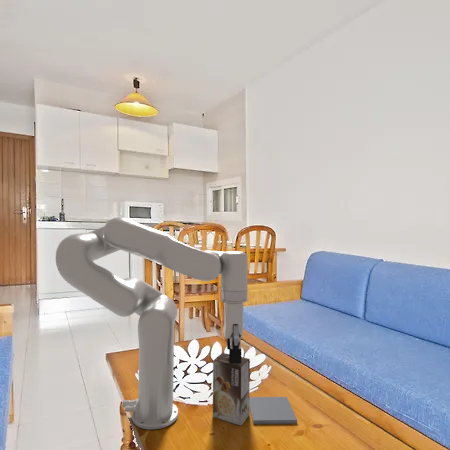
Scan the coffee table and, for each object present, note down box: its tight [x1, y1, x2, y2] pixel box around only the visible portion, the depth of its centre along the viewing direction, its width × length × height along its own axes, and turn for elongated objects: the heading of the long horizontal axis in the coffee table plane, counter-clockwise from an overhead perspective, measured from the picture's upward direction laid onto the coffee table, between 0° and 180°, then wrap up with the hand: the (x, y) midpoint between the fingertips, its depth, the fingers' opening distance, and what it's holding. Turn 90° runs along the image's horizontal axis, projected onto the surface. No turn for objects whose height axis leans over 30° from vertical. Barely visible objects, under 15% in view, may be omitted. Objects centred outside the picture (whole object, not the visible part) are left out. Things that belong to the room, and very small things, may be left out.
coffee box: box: [212, 352, 251, 426], centre depth 94 cm, size 9×6×16 cm
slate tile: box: [249, 396, 298, 425], centre depth 97 cm, size 12×12×1 cm
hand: (233, 355), depth 94 cm, fingers open, 9 cm apart
